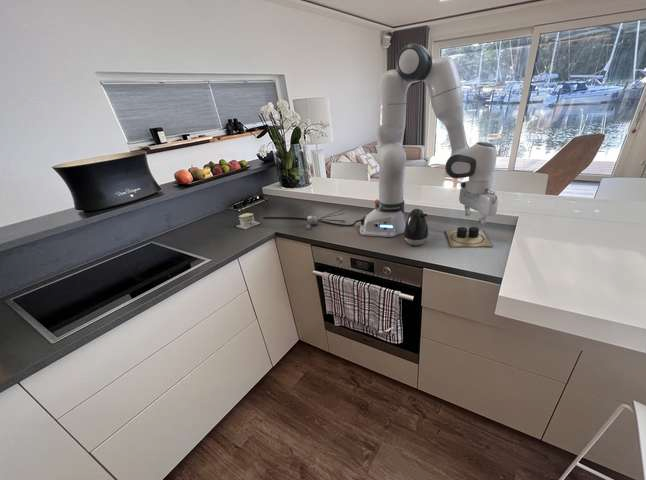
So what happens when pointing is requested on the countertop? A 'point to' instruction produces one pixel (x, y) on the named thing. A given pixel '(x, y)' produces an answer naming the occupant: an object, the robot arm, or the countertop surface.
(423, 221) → the pump dispenser
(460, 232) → the black ribbed knob
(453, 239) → the sketch board
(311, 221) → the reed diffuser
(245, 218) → the stacked layers on plate
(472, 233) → the dot right
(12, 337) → the countertop surface
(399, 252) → the countertop surface
